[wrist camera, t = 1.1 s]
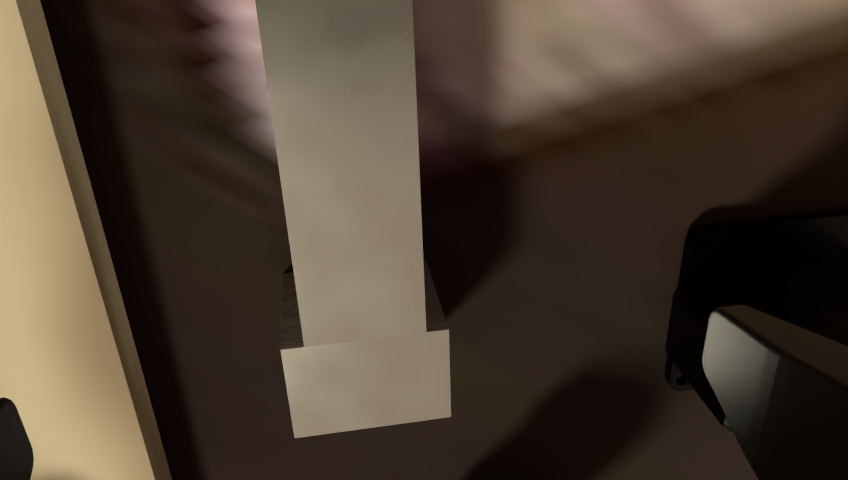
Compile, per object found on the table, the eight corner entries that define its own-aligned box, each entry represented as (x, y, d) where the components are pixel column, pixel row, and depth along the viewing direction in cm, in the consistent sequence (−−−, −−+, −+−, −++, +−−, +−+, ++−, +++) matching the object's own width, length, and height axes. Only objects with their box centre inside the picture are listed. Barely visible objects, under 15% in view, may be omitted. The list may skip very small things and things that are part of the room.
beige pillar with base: (404, -238, 16) (434, -269, 13) (428, 336, 24) (451, 417, 20) (208, -234, 16) (182, -265, 12) (295, 352, 23) (294, 438, 20)
